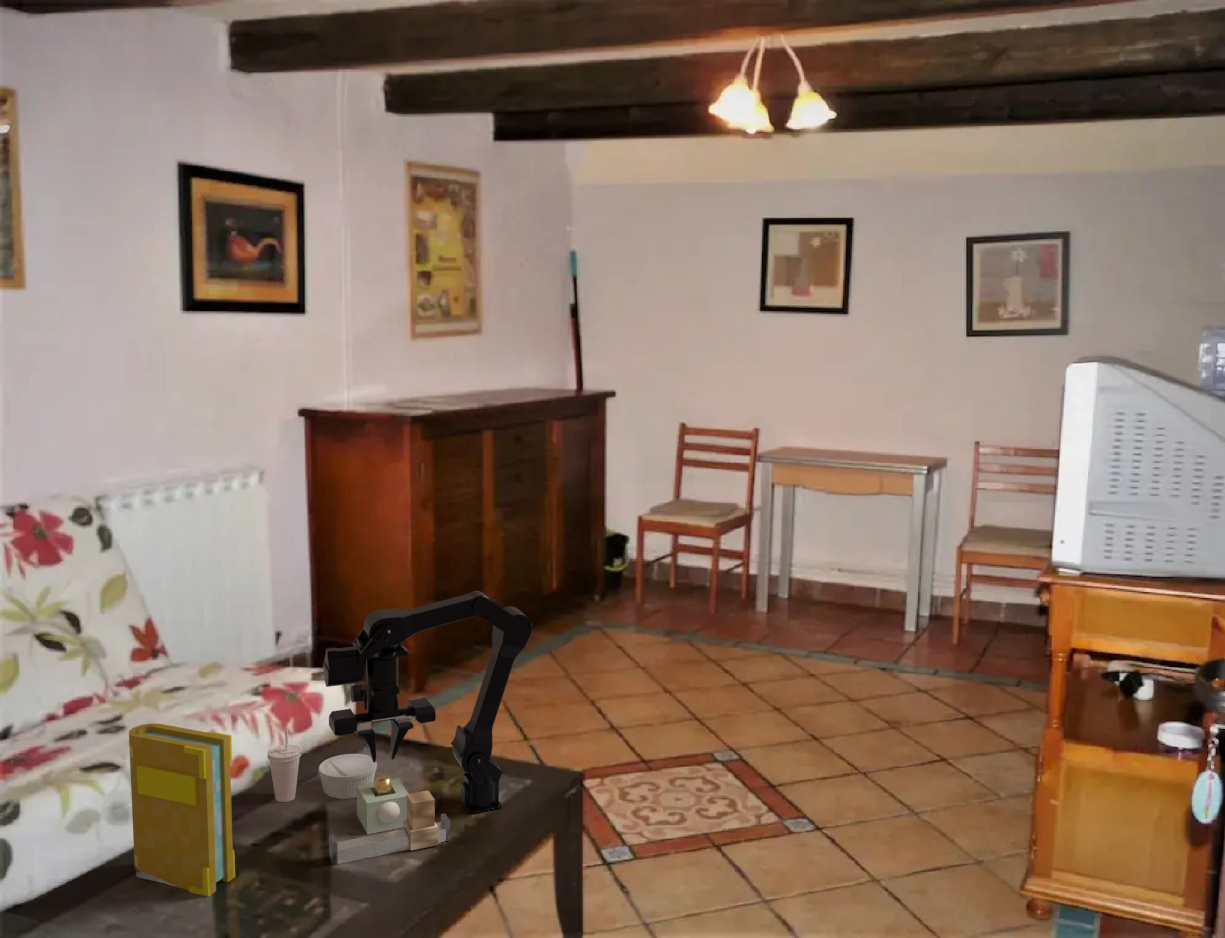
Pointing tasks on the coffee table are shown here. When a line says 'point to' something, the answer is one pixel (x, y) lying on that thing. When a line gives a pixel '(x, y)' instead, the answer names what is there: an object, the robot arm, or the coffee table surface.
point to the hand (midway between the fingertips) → (383, 760)
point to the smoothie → (284, 769)
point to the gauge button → (382, 785)
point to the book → (182, 806)
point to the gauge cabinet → (381, 807)
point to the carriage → (421, 820)
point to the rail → (379, 844)
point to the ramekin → (346, 774)
